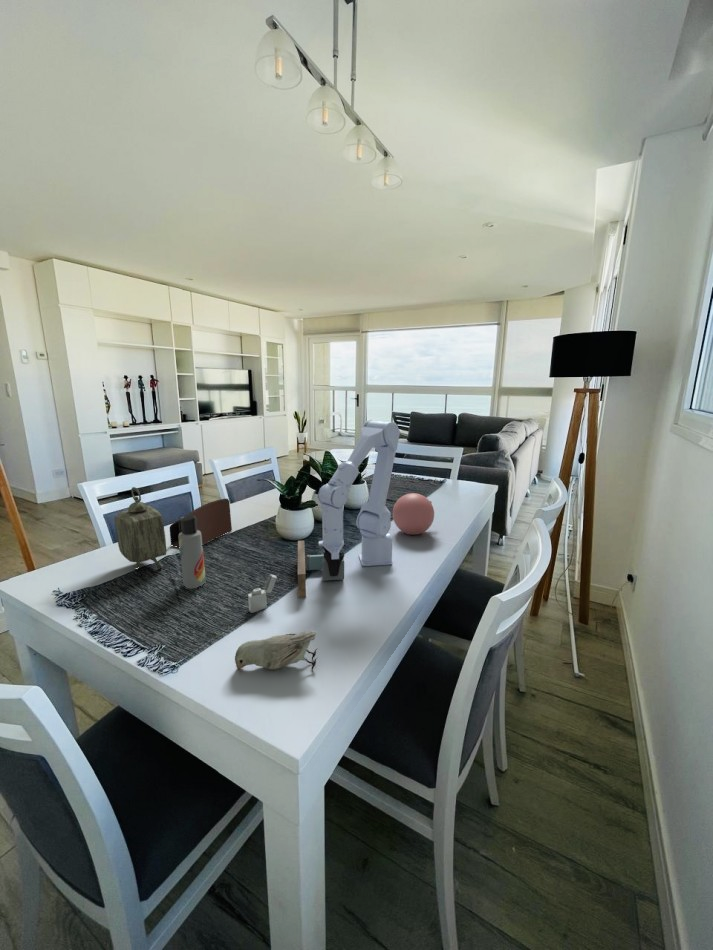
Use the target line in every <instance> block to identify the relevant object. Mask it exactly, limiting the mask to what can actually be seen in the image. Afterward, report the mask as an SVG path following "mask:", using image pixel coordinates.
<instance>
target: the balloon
mask: <svg viewBox="0 0 713 950" xmlns="http://www.w3.org/2000/svg"><path fill="white" fill-rule="evenodd" d="M432 503H433V502H432V501H431V500H429V498H427V497H426V496H425V495H422V494H420V493H415V492H411V493H407V494H403V496H400V497H399V498H398V499H397V501H396V502H395V503H394V505H393V508H392V519H393V522H394V524H395V526H396V528H397V529H399V530H400V531H401V532H403V533H405V534H407V535H412V536H414V535H420V534H421V535H422V534H423V533H424V532H427V531H428V530H429V529H430V528H431V526H432V524H433V522H434V520H435V519H434V518H435V509H434V506H433V504H432Z"/></svg>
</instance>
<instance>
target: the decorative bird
mask: <svg viewBox="0 0 713 950" xmlns="http://www.w3.org/2000/svg"><path fill="white" fill-rule="evenodd" d="M316 635H317V631H316V630H313V631H312V630H310V631H304V632H300V633H287V634H280V635H275V636H271V637H268V638H265V639H260V640H259V639H258V640H257V639H255V640H254V639H253V640H249V641H246V642H244V643H242V644H241V645H240V646H238V647H237V650H236V652H235V656H234V663H235V667H236V669H237V670H238V671H239V670H241V669H243V668H245V666H250V665H255V666H257V667H262V668H264V669H269V670H274V671H275V670H277V669H280V668H282V667H286V666H289V665H291V664H297V663H298V662H300V661H305V662H307V663H308V664H311V670H312V673H313V672H314V667H315V666H316V662H317V659H318V657H316V658H315V656H316V655H317V650H319V649H318V647H317V648H316V649H315V650H314V652H312V651H309V650H308V648H309V646H310V644H311V641H315V639H316ZM306 652H307V653H308V654H310V655H312V657H311V660H312V661H309V659H308V658H306V656H305V655H306ZM314 658H315V659H314Z"/></svg>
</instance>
